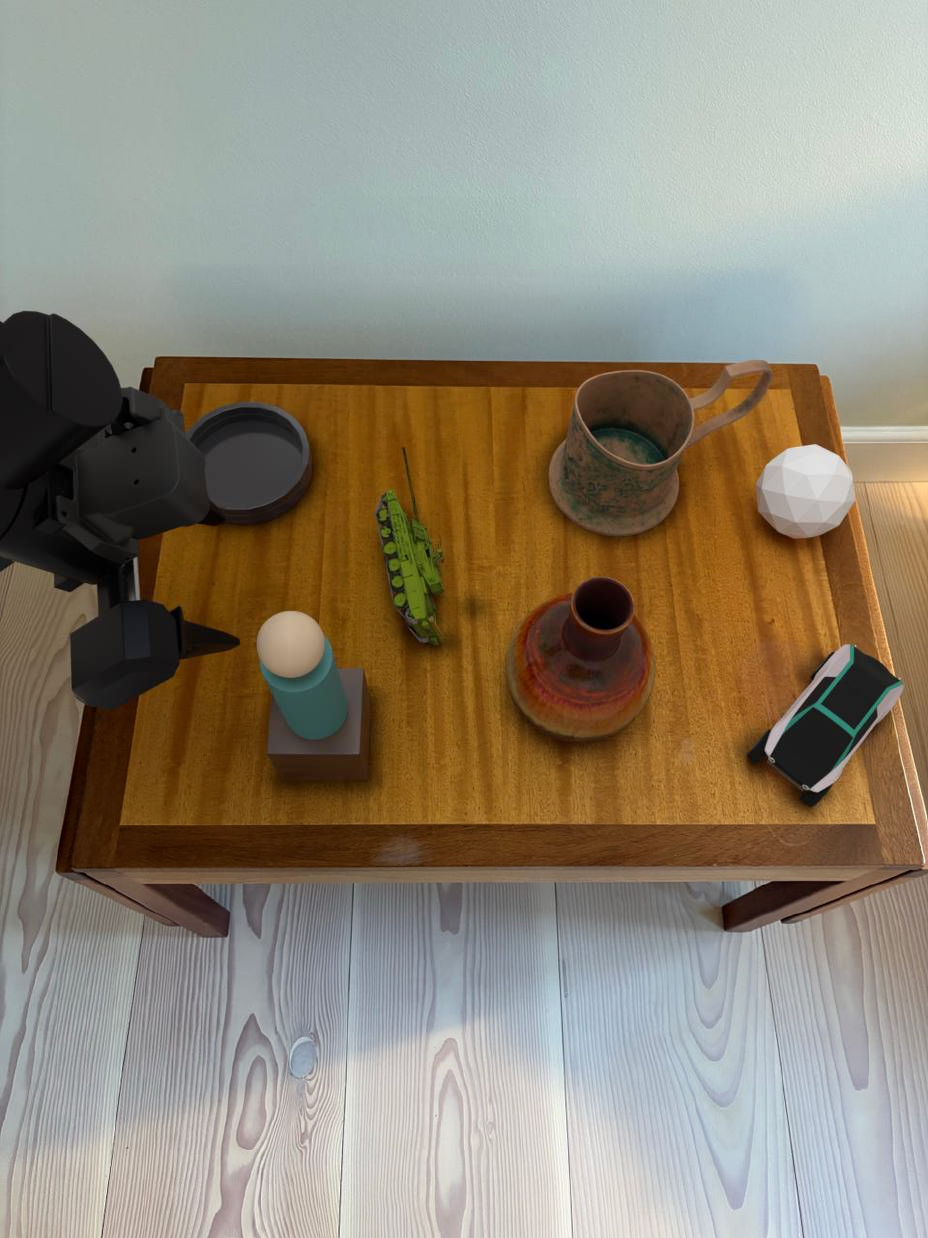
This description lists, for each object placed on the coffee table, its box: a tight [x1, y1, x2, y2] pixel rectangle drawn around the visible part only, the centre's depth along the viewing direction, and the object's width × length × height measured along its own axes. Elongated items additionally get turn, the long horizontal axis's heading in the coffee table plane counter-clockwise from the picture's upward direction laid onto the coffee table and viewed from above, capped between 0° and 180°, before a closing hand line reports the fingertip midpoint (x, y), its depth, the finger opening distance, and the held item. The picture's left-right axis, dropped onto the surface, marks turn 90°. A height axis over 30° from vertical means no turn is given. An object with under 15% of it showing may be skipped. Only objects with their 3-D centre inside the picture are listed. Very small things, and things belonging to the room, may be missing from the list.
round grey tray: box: [185, 401, 314, 526], centre depth 78 cm, size 11×11×2 cm
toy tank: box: [374, 442, 460, 646], centre depth 73 cm, size 7×19×10 cm
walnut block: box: [266, 667, 372, 782], centre depth 66 cm, size 6×6×7 cm
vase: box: [504, 575, 656, 744], centre depth 64 cm, size 11×11×15 cm
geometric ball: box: [755, 443, 856, 539], centre depth 75 cm, size 8×8×8 cm
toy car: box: [746, 643, 904, 809], centre depth 68 cm, size 6×12×5 cm, turn 137°
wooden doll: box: [256, 610, 348, 740], centre depth 56 cm, size 4×4×14 cm
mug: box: [547, 359, 774, 537], centre depth 75 cm, size 12×18×12 cm, turn 108°
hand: (228, 581), depth 58 cm, fingers open, 9 cm apart
